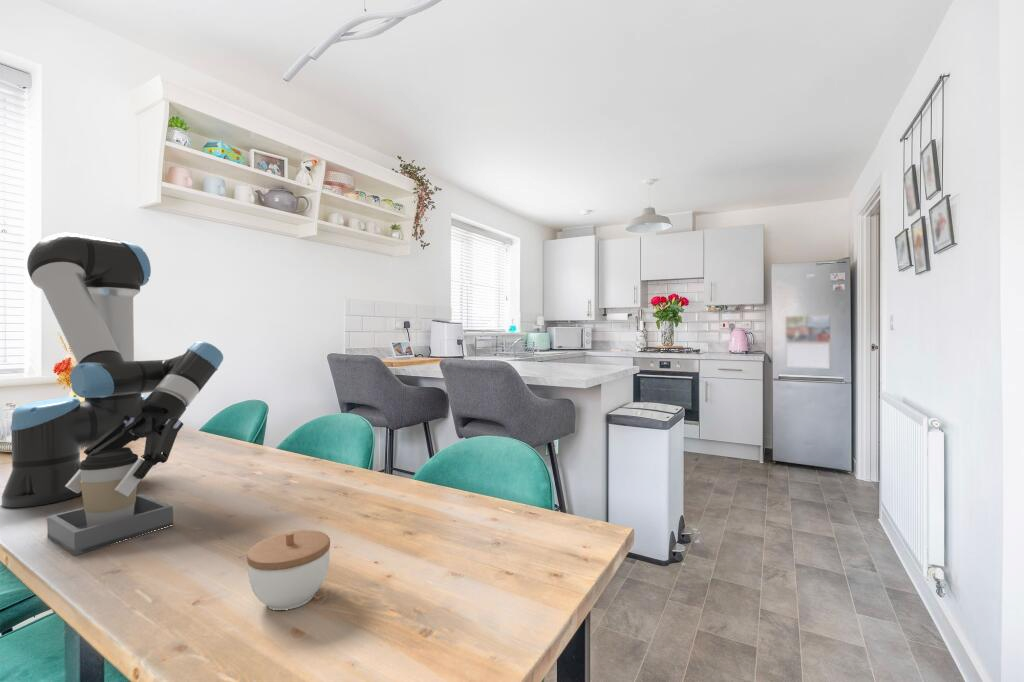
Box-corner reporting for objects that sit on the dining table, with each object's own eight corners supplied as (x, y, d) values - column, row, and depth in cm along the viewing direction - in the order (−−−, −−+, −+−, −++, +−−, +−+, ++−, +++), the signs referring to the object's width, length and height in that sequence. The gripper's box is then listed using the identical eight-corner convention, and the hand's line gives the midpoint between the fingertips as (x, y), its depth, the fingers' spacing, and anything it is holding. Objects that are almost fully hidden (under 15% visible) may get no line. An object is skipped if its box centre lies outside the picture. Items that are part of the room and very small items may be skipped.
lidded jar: (268, 581, 72) (267, 520, 72) (339, 577, 73) (338, 517, 73) (232, 624, 61) (231, 552, 61) (317, 618, 62) (316, 548, 62)
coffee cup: (104, 538, 87) (103, 457, 87) (66, 534, 89) (65, 455, 89) (151, 520, 96) (150, 446, 95) (116, 517, 97) (115, 445, 97)
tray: (47, 537, 90) (47, 516, 90) (141, 512, 102) (141, 493, 102) (74, 555, 82) (74, 532, 82) (173, 526, 94) (172, 506, 94)
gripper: (224, 411, 104) (160, 504, 89) (139, 409, 109) (64, 497, 94) (204, 389, 99) (131, 485, 84) (115, 388, 104) (32, 478, 89)
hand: (96, 491), depth 89 cm, fingers open, 11 cm apart
